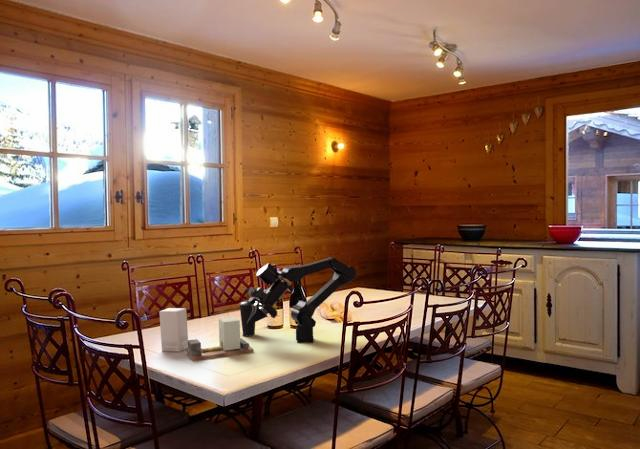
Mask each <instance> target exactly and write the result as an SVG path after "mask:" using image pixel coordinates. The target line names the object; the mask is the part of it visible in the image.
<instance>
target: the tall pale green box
mask: <svg viewBox="0 0 640 449" xmlns="http://www.w3.org/2000/svg"><path fill="white" fill-rule="evenodd" d="M240 322H241V319H239V318H237V317H235V316H231V317H224V318H222V317H221V318H218V340H219V346H220V347H223V350H224V351H226V350H233V349H240V338H241V323H240Z"/></svg>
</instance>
